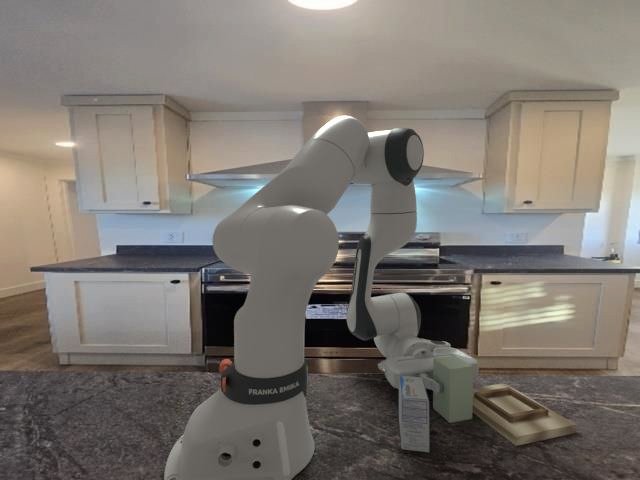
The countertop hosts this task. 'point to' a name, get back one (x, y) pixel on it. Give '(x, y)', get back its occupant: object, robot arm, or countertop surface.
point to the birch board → (518, 415)
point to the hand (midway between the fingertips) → (455, 387)
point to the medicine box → (413, 414)
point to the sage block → (453, 388)
